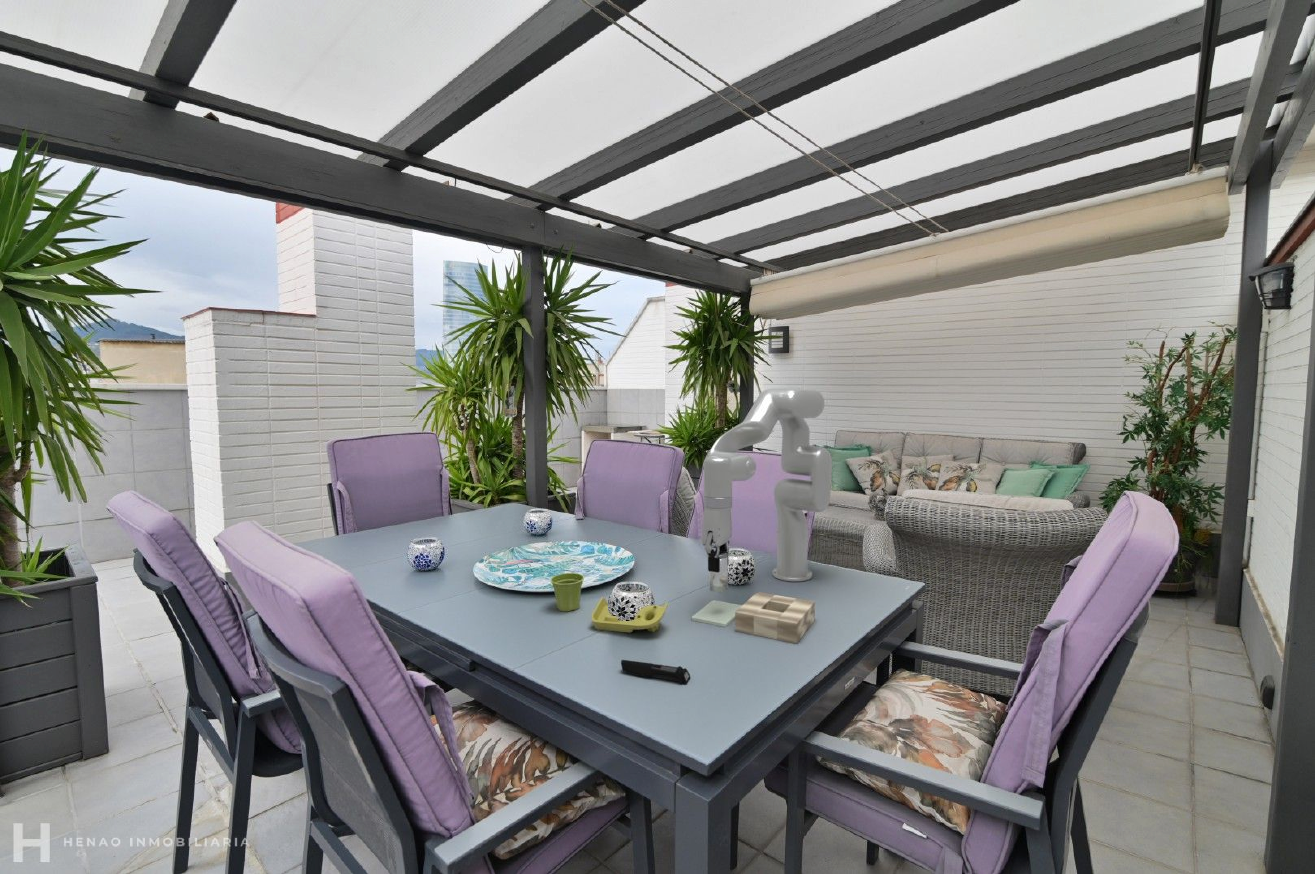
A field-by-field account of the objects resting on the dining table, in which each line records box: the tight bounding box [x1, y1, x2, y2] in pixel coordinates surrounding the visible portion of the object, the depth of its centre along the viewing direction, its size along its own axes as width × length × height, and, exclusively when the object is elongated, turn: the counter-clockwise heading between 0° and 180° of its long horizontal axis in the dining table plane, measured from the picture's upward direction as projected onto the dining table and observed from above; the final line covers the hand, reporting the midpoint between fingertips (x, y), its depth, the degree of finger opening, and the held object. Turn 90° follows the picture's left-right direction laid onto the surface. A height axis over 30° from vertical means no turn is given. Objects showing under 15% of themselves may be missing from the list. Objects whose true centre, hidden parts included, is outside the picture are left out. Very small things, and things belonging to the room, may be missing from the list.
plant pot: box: [550, 572, 585, 612], centre depth 171 cm, size 9×9×9 cm
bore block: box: [734, 591, 816, 644], centre depth 156 cm, size 16×16×5 cm
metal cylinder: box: [708, 550, 729, 594], centre depth 163 cm, size 5×5×10 cm
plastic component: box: [590, 597, 669, 634], centre depth 157 cm, size 20×7×10 cm
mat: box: [690, 599, 743, 628], centre depth 164 cm, size 14×10×1 cm
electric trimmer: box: [620, 659, 691, 685], centre depth 131 cm, size 4×16×3 cm, turn 70°
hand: (718, 567), depth 163 cm, fingers closed on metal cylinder, 5 cm apart
